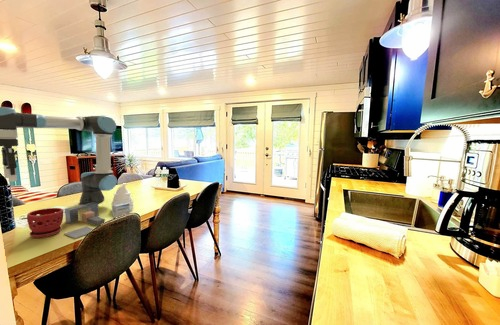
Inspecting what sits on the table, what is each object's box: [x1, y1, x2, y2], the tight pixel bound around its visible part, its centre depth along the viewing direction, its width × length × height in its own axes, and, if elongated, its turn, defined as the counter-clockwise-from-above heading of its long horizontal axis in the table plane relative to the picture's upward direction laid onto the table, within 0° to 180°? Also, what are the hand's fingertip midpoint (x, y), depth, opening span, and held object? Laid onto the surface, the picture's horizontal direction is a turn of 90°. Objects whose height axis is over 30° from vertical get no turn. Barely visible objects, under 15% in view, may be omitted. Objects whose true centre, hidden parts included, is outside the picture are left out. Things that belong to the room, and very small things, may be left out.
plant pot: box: [26, 207, 64, 239], centre depth 107 cm, size 13×13×12 cm
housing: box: [64, 202, 100, 225], centre depth 127 cm, size 15×5×8 cm, turn 155°
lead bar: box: [87, 216, 106, 227], centre depth 122 cm, size 4×10×3 cm, turn 64°
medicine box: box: [112, 203, 131, 218], centre depth 130 cm, size 8×4×9 cm, turn 148°
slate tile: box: [63, 226, 94, 240], centre depth 109 cm, size 10×10×1 cm
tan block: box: [81, 210, 95, 224], centre depth 125 cm, size 4×4×5 cm
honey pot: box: [111, 182, 134, 213], centre depth 144 cm, size 13×13×18 cm
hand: (10, 179), depth 108 cm, fingers open, 13 cm apart
